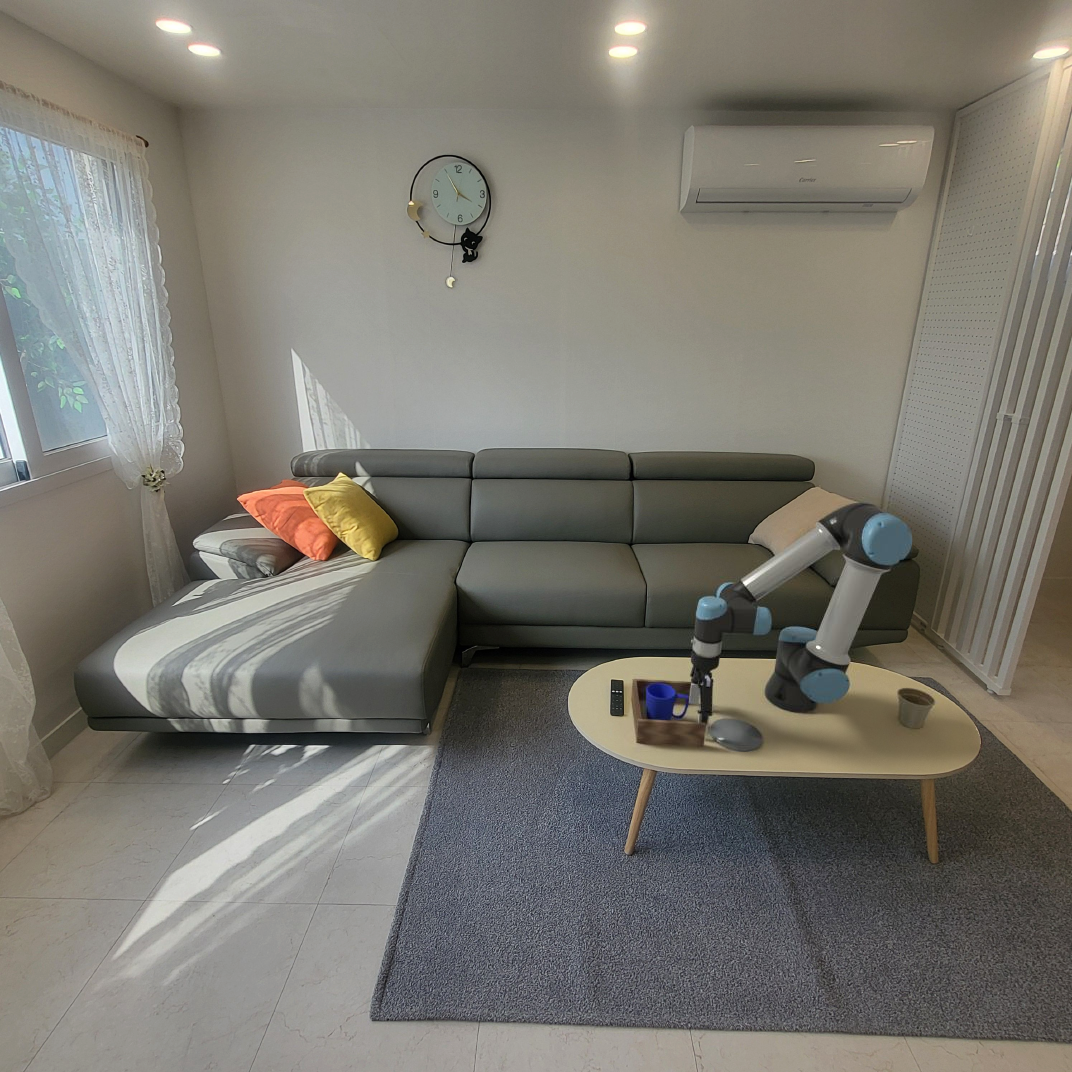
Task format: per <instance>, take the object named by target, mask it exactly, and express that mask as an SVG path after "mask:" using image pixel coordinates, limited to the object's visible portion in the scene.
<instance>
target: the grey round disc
mask: <svg viewBox="0 0 1072 1072" xmlns="http://www.w3.org/2000/svg"><path fill="white" fill-rule="evenodd" d="M709 733H710V735H711V737H712V739H713V740H714V741H715V742H716V743H717V744H719V745H720V746H722V747H724V748H726V749H729V750H731V751H735V752H744V753H745V752H753V751H755V750H757V749H760V748H761V746H762V744H763V740H764V739H763V734H762V733H761V731H760V730H759V729H758V728H757V727H756V726H755V725H753V724H752V723H749V722H747V721H745V720H743V719H739V718H733V717H725V718H724V717H723V718H719V719H716V720H715V721H713V722H712V723H711V725H710V727H709Z"/></svg>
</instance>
